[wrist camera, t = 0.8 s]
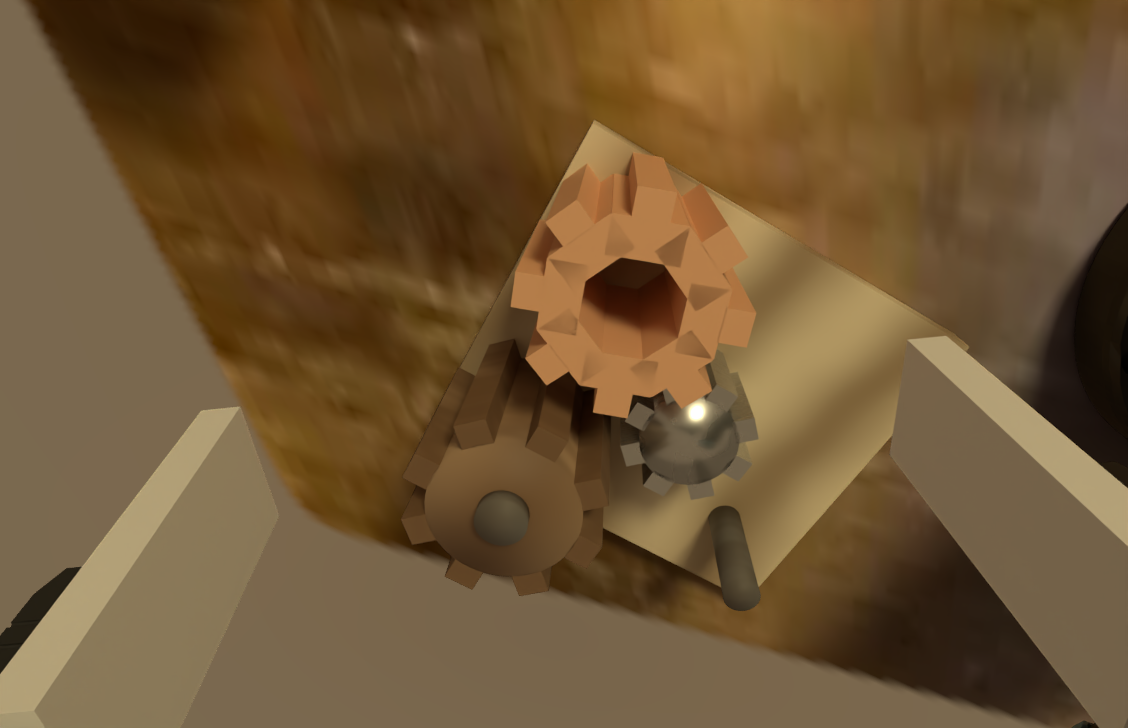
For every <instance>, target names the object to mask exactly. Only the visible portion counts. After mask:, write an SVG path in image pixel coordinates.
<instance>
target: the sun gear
mask: <svg viewBox="0 0 1128 728" xmlns="http://www.w3.org/2000/svg"><path fill="white" fill-rule="evenodd" d="M705 366H706V370H707V373H708V377H709V381H710V384H711V388H712V391H711V392H710V393H708V394H706V395H704V396H703V397H701V398H699V399H698V400H696V401H694V402H692V403H691V404H689V405H687V406H686V407H684V408H682V409H681V407H680V406H679V405H678V403H677V402H676V401H675V399H674V398H673V396H672V395H671V394H670V392H669V391H668V390H667V388H666V389H665V390H663V391H661V392H660V393H658V394H656V395H655V396H653V397H644V396H639V395H633V396H632V400H631V405H630V409H629V414H628V418H622V417H620V446H621V450H622V453H623V457H624V460H625V463H626V467H627V466H632V465H637V464H642V476H643V486H644V487H646V488H648V489H650V490H652V491H654V492H656V493H658V494H660V495H662V496H664V495H665V494H666V492H667V491H668V490H669V488H670V487H671V486H672V484H673V483H676V484H684V485H687V487H688V491H689V495H690V499H691V500H695V499H700V498H705V497H710V496H715V495H714V490H713V486H712V481H711V480H712V479H714V478H716V477H717V476H719V475H720V474H722V473H723V474H725V475H727V476H729V477H730V478H732V479H734V480H736V481H738V482H739V480H740V479H741V478H742V477H743V475H744V474H745V473H746V471H747V470H748V469H749V468H750V466H751V465H752V461H751V458H750V454H749V451H748V448H747V445H746V442H748V441H753V440H758V439H759V437H758V432H757V427H756V423H755V418H754V415H753V412H752V410H751V407H750V404H749V402H748V399H747V396H746V393H745V391H744V388H743V385H742V383H741V380H740V377H739V374H738V372H733V373H730V371H729V369H728V366H727V363H726V360H725V357H724V354H723V352H721V351H719V350H716V354H715V357H714V359H713V361H711V362H710V363H708V364H706V365H705Z"/></svg>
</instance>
